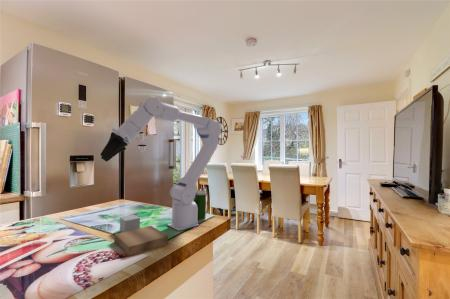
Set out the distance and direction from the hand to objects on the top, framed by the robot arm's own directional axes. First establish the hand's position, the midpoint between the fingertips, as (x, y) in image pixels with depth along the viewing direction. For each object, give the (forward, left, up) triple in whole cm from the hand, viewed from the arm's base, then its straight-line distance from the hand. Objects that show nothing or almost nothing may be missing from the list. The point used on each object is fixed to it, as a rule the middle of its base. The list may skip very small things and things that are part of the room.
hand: (103, 158), depth 68 cm
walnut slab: (-9, +7, -27) cm, 29 cm away
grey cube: (-10, -5, -26) cm, 29 cm away
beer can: (-37, 0, -27) cm, 46 cm away
